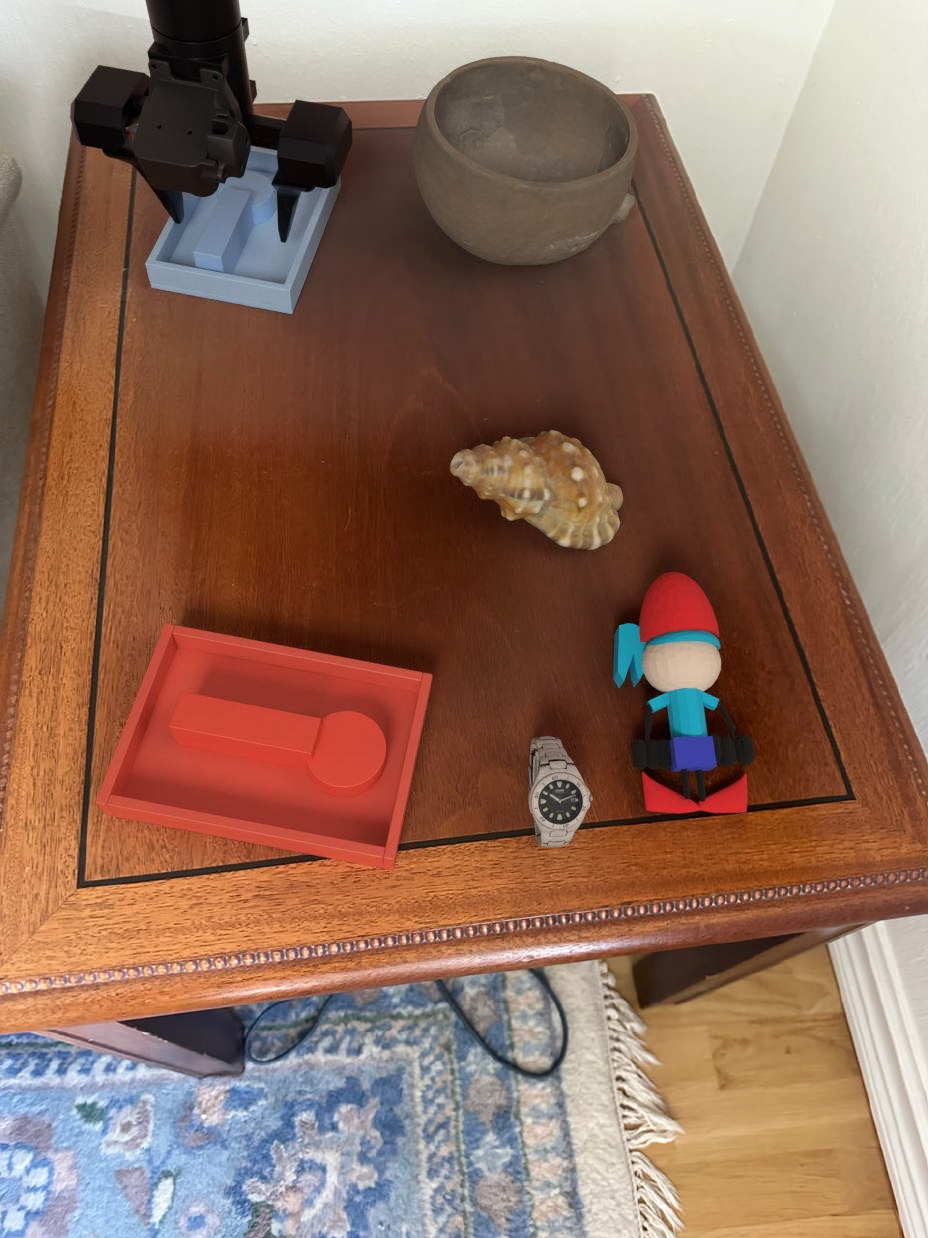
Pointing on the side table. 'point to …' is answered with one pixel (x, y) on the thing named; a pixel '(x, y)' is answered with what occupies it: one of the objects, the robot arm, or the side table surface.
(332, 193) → the blue tray
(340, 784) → the red spoon
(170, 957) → the side table surface
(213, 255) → the blue spoon
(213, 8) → the robot arm
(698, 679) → the toy figure
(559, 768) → the wristwatch
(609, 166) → the bowl
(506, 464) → the seashell
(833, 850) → the side table surface
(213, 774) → the red tray
